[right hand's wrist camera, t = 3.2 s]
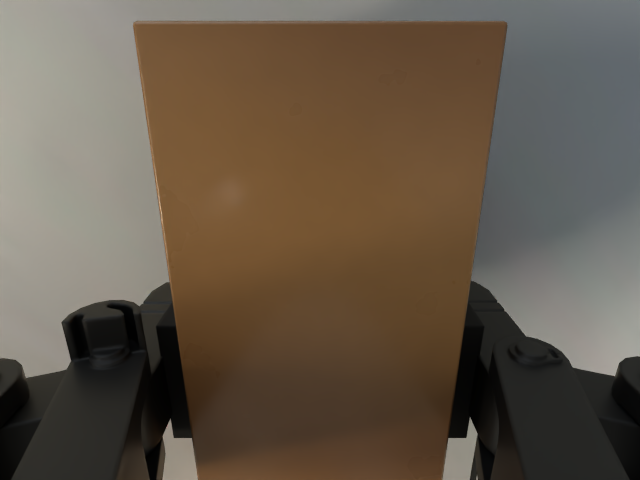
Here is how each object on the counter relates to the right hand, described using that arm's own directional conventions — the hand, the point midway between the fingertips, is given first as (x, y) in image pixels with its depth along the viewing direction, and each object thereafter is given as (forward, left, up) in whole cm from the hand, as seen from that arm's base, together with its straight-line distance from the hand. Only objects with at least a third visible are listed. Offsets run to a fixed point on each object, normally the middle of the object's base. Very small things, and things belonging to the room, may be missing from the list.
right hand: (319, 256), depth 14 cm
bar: (-3, -25, -1) cm, 26 cm away
